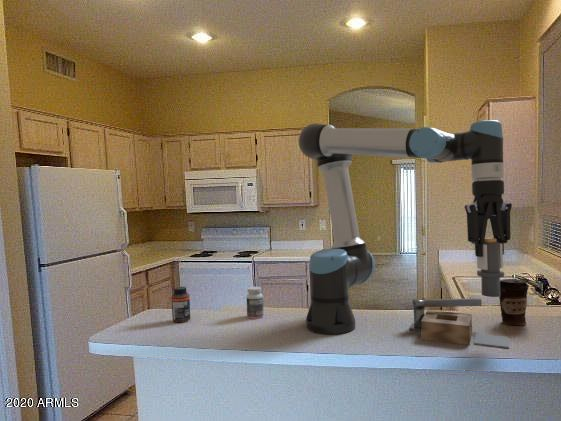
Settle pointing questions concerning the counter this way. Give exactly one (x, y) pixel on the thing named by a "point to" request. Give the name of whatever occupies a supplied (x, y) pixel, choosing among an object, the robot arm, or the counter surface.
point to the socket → (447, 327)
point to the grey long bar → (445, 302)
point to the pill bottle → (255, 303)
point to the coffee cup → (513, 301)
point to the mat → (491, 340)
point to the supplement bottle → (180, 305)
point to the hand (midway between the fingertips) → (490, 268)
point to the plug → (491, 270)
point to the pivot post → (417, 319)
